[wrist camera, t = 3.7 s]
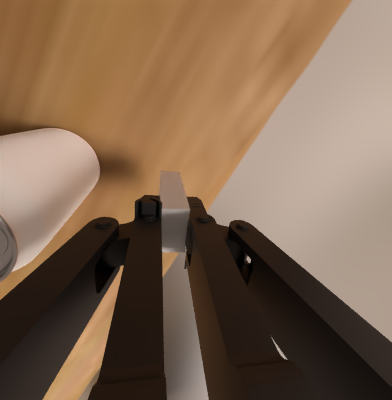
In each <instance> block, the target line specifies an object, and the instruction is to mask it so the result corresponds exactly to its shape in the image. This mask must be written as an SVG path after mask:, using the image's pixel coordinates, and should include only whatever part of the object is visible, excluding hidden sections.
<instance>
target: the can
mask: <svg viewBox="0 0 392 400" xmlns="http://www.w3.org/2000/svg"><path fill="white" fill-rule="evenodd" d="M99 176H100V166H99V162H98V159H97V156H96V154H95V152H94V150H93V149H92V148H91V146H90V145H89V144H88V143H87V142H86V141H85V140H83V139H82V138H81V137H79V136H78V135H76V134H74V133H72V132H70V131H67V130H64V129H59V128H43V129H37V130H31V131H25V132H20V133H14V134H9V135H3V136H0V282H1V281H3V280H4V279H5V278H6V277H7V276H8V275H9V274H10V273H11V272H13V271H15V270H18V269H20V268H21V267H23V266H25V265H26V264H28V263H29V262H31V261H32V260H33V259H34V258H35V257H36V256H37V255H38V254H39V253H40V252H41V251H42V250H43V249H44V247H45V246H46V245H47V244H48V243H49V242H50V240H51V239H52V238H53V237H54V236H55V234H56V233H57V232H58V231H59V230H60V228H61V227H62V226H63V225H64V224H65V222H66V221H67V220H68V219H69V217H70V216H71V215H72V214H73V213H74V211H75V210H76V209H77V208H78V207H79V205H80V204H81V203H82V202H83V200H84V199H85V198H86V197H87V195H88V194H89V193H90V192H91V190H92V189H93V188H94V186H95V185H96V183H97V181H98V179H99Z"/></svg>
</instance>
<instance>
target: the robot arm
mask: <svg viewBox="0 0 392 400" xmlns="http://www.w3.org/2000/svg"><path fill="white" fill-rule="evenodd" d="M185 246H186V249H187V251H186V259H185V268H184V269H186V267H187V269H188V275H189V282H190V288H191V293H192V300H193V306H194V312H195V318H196V324H197V330H198V336H199V343H200V349H201V355H202V360H203V367H204V373H205V379H206V385H207V391H208V397H209V400H392V342H390V341H389V340H388V339H387V338H386V337H385V336H383V335H382V334H381V333H380V332H379V331H377V330H376V329H375V328H374V327H373V326H371V325H370V324H369V323H368V322H367V321H365V320H364V319H363V318H362V317H361V316H360V315H358V314H357V313H356V312H355V311H354V310H352V309H351V308H350V307H349V306H348V305H346V304H345V303H344V302H343V301H342V300H340V299H339V298H338V297H337V296H336V295H335V294H333V293H332V292H331V291H330V290H329V289H327V288H326V287H325V286H324V285H323V284H321V283H320V282H319V281H318V280H317V279H316V278H314V277H313V276H312V275H311V274H310V273H308V272H307V271H306V270H305V269H304V268H302V267H301V266H300V265H299V264H298V263H297V262H295V261H294V260H293V259H292V258H291V257H289V256H288V255H287V254H286V253H285V252H283V251H282V250H281V249H280V248H279V247H277V246H276V245H275V244H274V243H273V242H272V241H270V240H269V239H268V238H267V237H266V236H264V235H263V234H262V233H261V232H259V231H258V230H257V229H256V228H255V227H254V226H253V225H251V224H249V223H248V222H245V221H242V220H234V221H231V222H230V225H229V227H227V226H222V225H218V224H217V223H216V221H215V219H214V218H213V217H212V216H210V215H208V214H207V212H206V210H205V208H204V206H203V203H202V201H201V200H200V199H199V198H197V197H186V194H185V190H184V187H183V183H182V180H181V176H180V173H179V172H168V171H160V189H159V196H154V195H144V196H143V197H142V198H140V199H138V200H136V201H135V219H134V221H132V222H129V223H126V224H120V225H119V223H118V221H117V220H116V219H114V218H111V217H100V218H97V219H94V220H92V221H90V222H89V223H88V224H87V225H85V226H84V227H83V228H82V229H81V230H80V231H79V232H77V233H76V234H75V235H74V236H73V237H72V238H71V239H69V240H68V241H67V242H66V243H65V244H64V245H63V246H61V247H60V248H59V249H58V250H57V251H56V252H55V253H54V254H52V255H51V256H50V257H49V258H48V259H47V260H46V261H44V262H43V263H42V264H41V265H40V266H39V267H38V268H36V269H35V270H34V271H33V272H32V273H31V274H30V275H28V276H27V277H26V278H25V279H24V280H23V281H22V282H20V283H19V284H18V285H17V286H16V287H15V288H14V289H12V290H11V291H10V292H9V293H8V294H7V295H6V296H5V297H3V298H2V299H1V300H0V400H42V399H43V398H44V396H45V394H46V393H47V391H48V389H49V387H50V386H51V384H52V382H53V381H54V379H55V377H56V376H57V374H58V372H59V371H60V369H61V367H62V366H63V364H64V362H65V361H66V359H67V357H68V356H69V354H70V352H71V351H72V349H73V347H74V346H75V344H76V342H77V341H78V339H79V337H80V335H81V334H82V332H83V330H84V329H85V327H86V325H87V324H88V322H89V320H90V319H91V317H92V315H93V314H94V312H95V310H96V309H97V307H98V305H99V304H100V302H101V300H102V299H103V297H104V295H105V294H106V292H107V290H108V289H109V287H110V285H111V283H112V282H113V280H114V278H115V277H116V275H117V273H118V272H119V270H120V266H122V265H124V268H123V272H122V277H121V281H120V285H119V290H118V294H117V299H116V303H115V308H114V312H113V317H112V321H111V326H110V330H109V335H108V339H107V343H106V348H105V352H104V357H103V361H102V366H101V370H100V374H99V378H98V380H97V382H96V383H95V384H94V386H93V387H92V390H91V392H90V395H89V398H88V400H167V395H166V377H165V374H164V348H163V347H164V346H163V343H164V342H163V287H162V286H163V282H162V252H185ZM247 256H249V257H250V259H251V263H248V261H247ZM270 335H271V336H270ZM271 337H272V338H273V340H274V341H275V342H276V344H277V345H278V347H279V348H280V350H281V351H282V352H283V354H284V355H285V357H286V358H287V359H288V360H286V359H284V358H283V357H282V356H281V355H280V354H279V352H278V350H277V348H276V346H275V344H274V342H273V340H272V338H271Z"/></svg>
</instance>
